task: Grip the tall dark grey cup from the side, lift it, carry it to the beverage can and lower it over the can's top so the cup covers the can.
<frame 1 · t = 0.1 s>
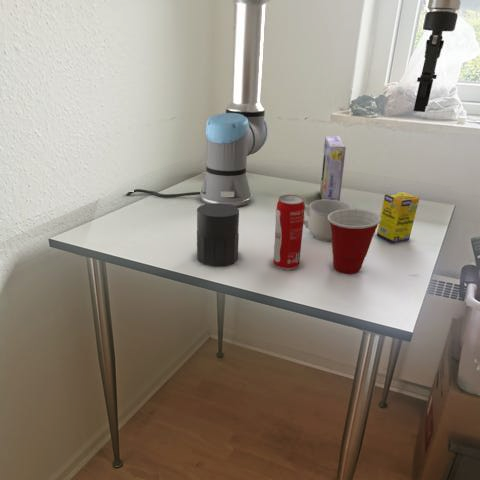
hand: (420, 108, 123), 28 cm above the table, tool pointing down, fingers open, 13 cm apart
dark grey cup: (217, 257, 105), on the table
beverage can: (285, 266, 103), on the table
cake pan box: (327, 201, 146), on the table
plastic cup: (345, 269, 103), on the table
supplement box: (392, 239, 120), on the table
teacup: (320, 236, 119), on the table
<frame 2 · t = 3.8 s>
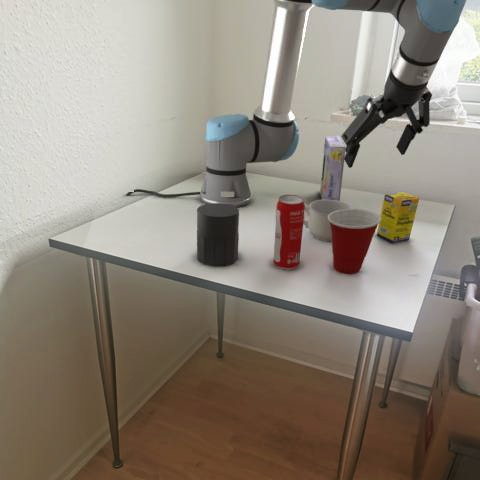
hand: (374, 156, 108), 20 cm above the table, tool tilted 35°, fingers open, 13 cm apart
nothing on the table moved.
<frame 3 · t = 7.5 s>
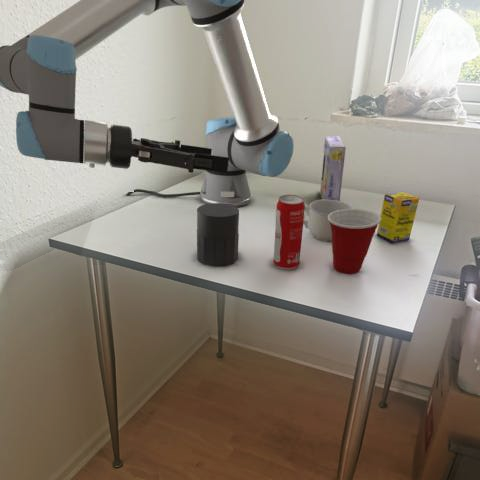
hand: (218, 160, 94), 21 cm above the table, tool horizontal, fingers open, 13 cm apart
nothing on the table moved.
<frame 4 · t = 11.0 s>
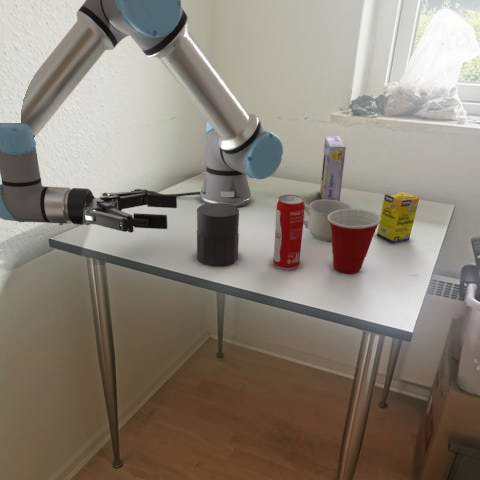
hand: (172, 211, 100), 10 cm above the table, tool horizontal, fingers open, 13 cm apart
nothing on the table moved.
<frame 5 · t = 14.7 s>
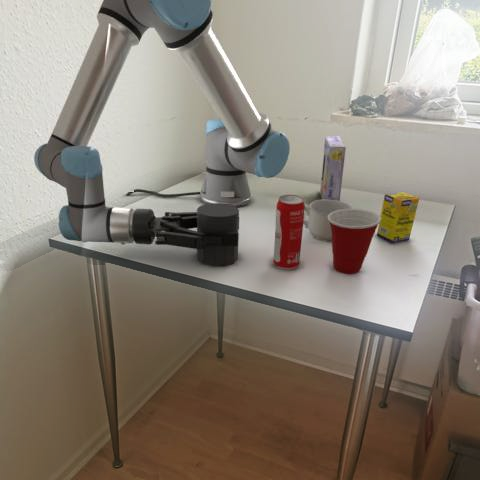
hand: (238, 231, 102), 6 cm above the table, tool horizontal, fingers closed on dark grey cup, 9 cm apart
dark grey cup: (217, 257, 105), on the table, touching gripper
everything else where it was.
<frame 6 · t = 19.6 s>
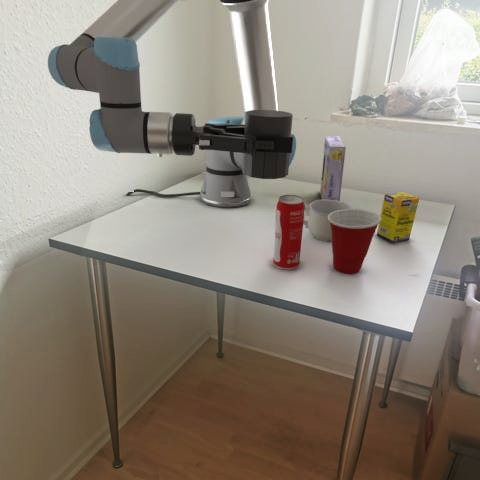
hand: (290, 139, 90), 26 cm above the table, tool horizontal, fingers closed on dark grey cup, 9 cm apart
dark grey cup: (265, 173, 94), point 19 cm above the table, touching gripper
everything else where it was.
when the fingers open (15 cm above the table, at t = 24.6 s): dark grey cup stays where it is, resting on beverage can.
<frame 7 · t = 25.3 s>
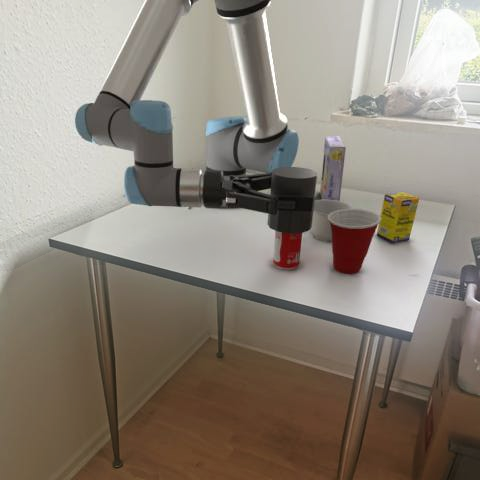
hand: (309, 193, 95), 16 cm above the table, tool horizontal, fingers open, 13 cm apart
dark grey cup: (289, 225, 98), point 9 cm above the table, touching beverage can
beverage can: (285, 266, 103), on the table, touching dark grey cup
everything else where it was.
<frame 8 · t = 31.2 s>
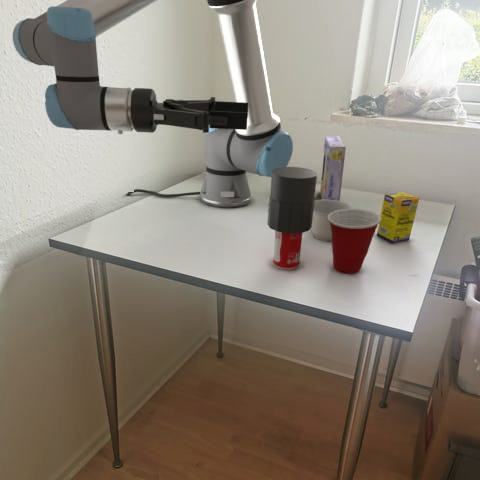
hand: (247, 115, 88), 30 cm above the table, tool horizontal, fingers open, 13 cm apart
nothing on the table moved.
at the end: dark grey cup 0.0 cm off-centre in the beverage can, point 9.2 cm above the beverage can's base; dark grey cup tilted 0°; beverage can tilted 0° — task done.
